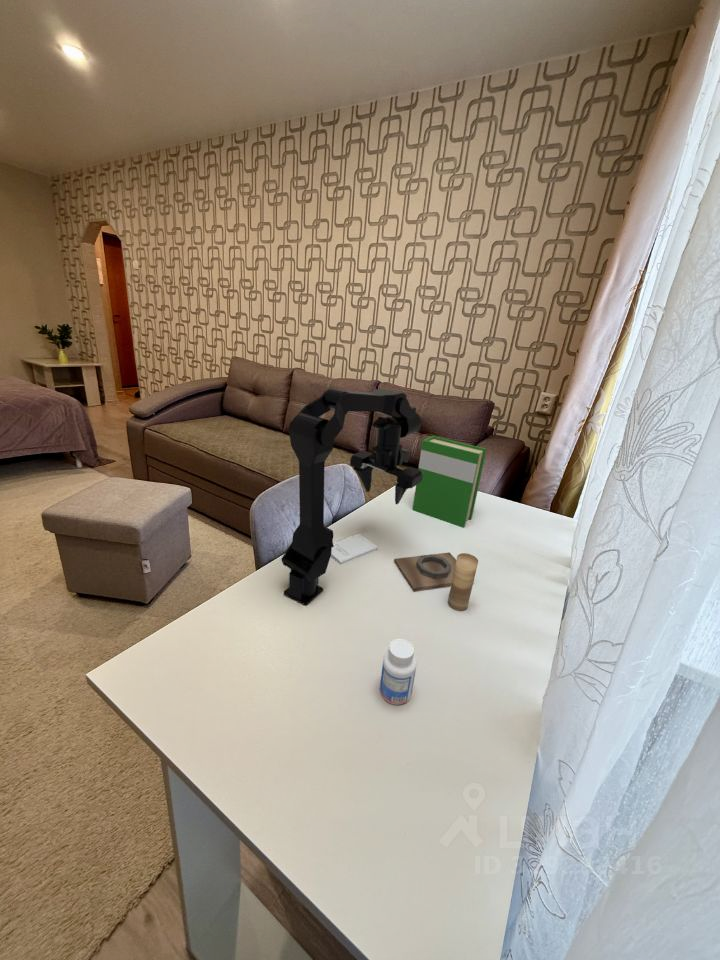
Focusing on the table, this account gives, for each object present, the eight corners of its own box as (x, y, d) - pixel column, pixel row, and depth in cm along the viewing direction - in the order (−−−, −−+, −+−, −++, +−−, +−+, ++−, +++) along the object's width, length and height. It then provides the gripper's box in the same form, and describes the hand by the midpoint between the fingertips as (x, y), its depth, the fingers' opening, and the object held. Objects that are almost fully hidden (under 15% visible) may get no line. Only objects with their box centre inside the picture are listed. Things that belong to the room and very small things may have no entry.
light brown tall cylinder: (464, 613, 85) (475, 567, 81) (444, 605, 87) (454, 560, 83) (470, 602, 89) (480, 557, 84) (451, 595, 91) (460, 550, 86)
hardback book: (471, 519, 127) (486, 448, 118) (463, 528, 121) (478, 454, 112) (421, 502, 136) (432, 435, 126) (412, 510, 130) (422, 440, 120)
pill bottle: (391, 672, 70) (398, 629, 66) (417, 690, 67) (425, 646, 63) (372, 692, 66) (378, 647, 62) (399, 712, 63) (407, 667, 59)
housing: (413, 591, 91) (414, 582, 90) (394, 562, 101) (395, 553, 100) (473, 583, 96) (475, 574, 95) (448, 555, 106) (450, 547, 105)
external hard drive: (377, 551, 106) (340, 566, 98) (357, 538, 112) (321, 551, 104) (377, 546, 105) (340, 561, 98) (358, 533, 111) (321, 545, 103)
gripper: (437, 443, 97) (428, 498, 104) (375, 424, 106) (371, 475, 113) (414, 457, 89) (406, 515, 96) (349, 435, 98) (347, 489, 105)
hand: (382, 497), depth 103 cm, fingers open, 9 cm apart
